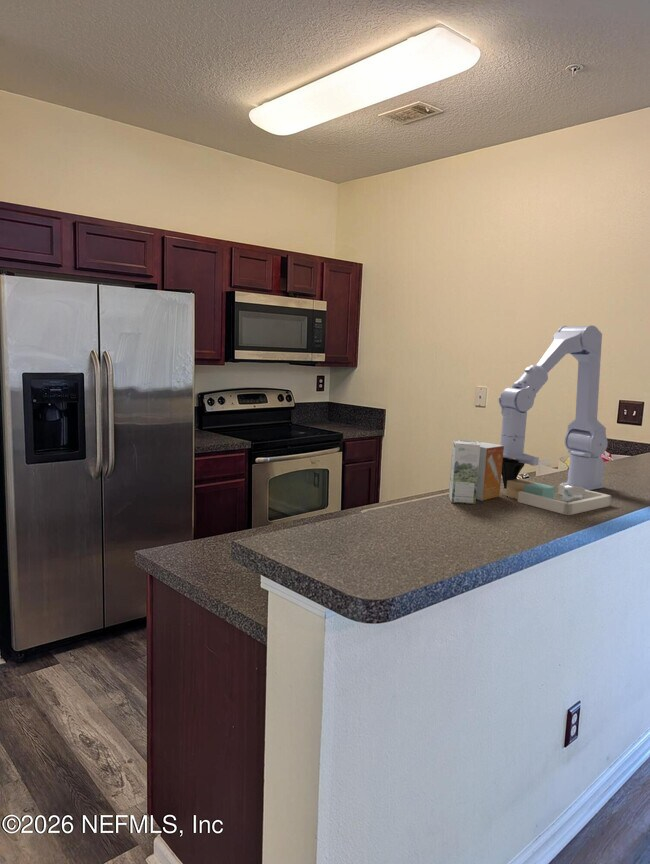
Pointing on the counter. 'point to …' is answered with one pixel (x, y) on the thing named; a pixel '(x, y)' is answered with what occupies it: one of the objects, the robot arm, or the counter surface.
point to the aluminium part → (572, 492)
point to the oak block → (516, 487)
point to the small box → (489, 471)
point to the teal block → (540, 490)
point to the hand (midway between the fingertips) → (508, 488)
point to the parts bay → (588, 503)
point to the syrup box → (464, 471)
